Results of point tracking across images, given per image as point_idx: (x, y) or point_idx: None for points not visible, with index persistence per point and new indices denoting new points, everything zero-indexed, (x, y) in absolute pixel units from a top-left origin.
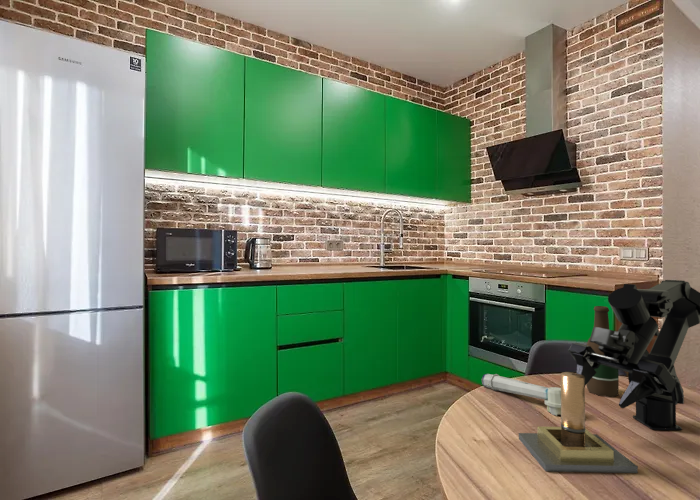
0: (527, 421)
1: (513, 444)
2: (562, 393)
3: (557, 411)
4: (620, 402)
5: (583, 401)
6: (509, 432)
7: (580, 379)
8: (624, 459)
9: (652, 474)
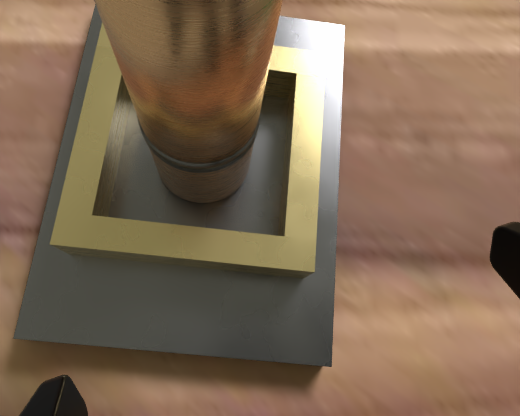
0: (499, 155)
1: (295, 4)
2: None
3: None
4: (50, 397)
5: (101, 15)
6: (390, 36)
7: None
8: (78, 321)
9: (5, 402)
